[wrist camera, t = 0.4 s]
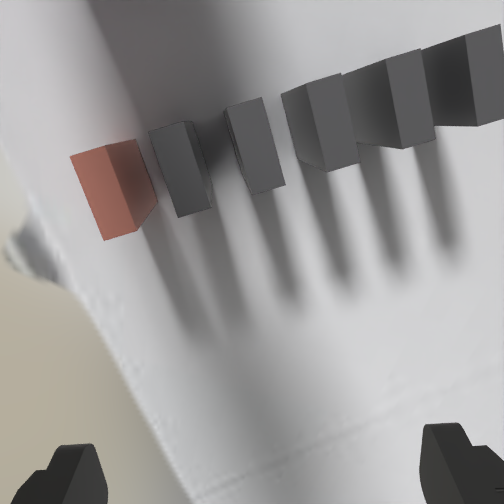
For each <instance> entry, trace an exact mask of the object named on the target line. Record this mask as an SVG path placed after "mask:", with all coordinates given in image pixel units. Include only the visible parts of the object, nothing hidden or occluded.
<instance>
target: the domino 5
mask: <svg viewBox="0 0 504 504" xmlns="http://www.w3.org/2000/svg"><path fill="white" fill-rule="evenodd" d="M342 80H343V84H344V89H345V94H346V98H347V103H348V107H349V112H350V116H351V121H352V125H353V130H354V134H355V139H356V143H362V144H369V145H376V146H383V147H390V148H397V149H405V148H409V147H412V146H415V145H418V144H422V143H425V142H428V141H431V140H435V139H436V137H435V131H434V125H433V119H432V113H431V107H430V101H429V95H428V89H427V83H426V77H425V71H424V66H423V60H422V54H421V48H420V49H417V50H413V51H410V52H407V53H404V54H400V55H397V56H394V57H391V58H387V59H384V60H382V61H379V62H376V63H373V64H371V65H368V66H365V67H363V68H360V69H357V70H355V71H352V72H349V73H346V74H344V75H342Z"/></svg>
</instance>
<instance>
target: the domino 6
mask: <svg viewBox="0 0 504 504" xmlns="http://www.w3.org/2000/svg"><path fill="white" fill-rule="evenodd" d="M421 54H422V60H423V66H424V71H425V77H426V83H427V89H428V95H429V101H430V107H431V113H432V119H433V125H434V126H477V127H478V126H481V125H484V124H488V123H491V122H494V121H497V120H501V119H504V51H503V43H502V34H501V26H500V24H499V25H495V26H492V27H489V28H486V29H482V30H479V31H476V32H473V33H469V34H466V35H463V36H460V37H457V38H454V39H452V40H449V41H446V42H443V43H440V44H437V45H434V46H431V47H428V48H426V49H423V50H421Z"/></svg>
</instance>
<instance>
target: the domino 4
mask: <svg viewBox="0 0 504 504" xmlns="http://www.w3.org/2000/svg"><path fill="white" fill-rule="evenodd" d="M281 97H282V101H283V105H284V109H285V113H286V116H287V120H288V124H289V128H290V132H291V136H292V140H293V143H294V147H295V151H296V155H297V159H299V160H301V161H303V162H306V163H308V164H310V165H312V166H314V167H317V168H319V169H321V170H323V171H325V172H330V171H334V170H337V169H340V168H343V167H347V166H350V165H353V164H356V163H360V157H359V153H358V148H357V144H356V139H355V134H354V130H353V125H352V121H351V116H350V112H349V107H348V103H347V98H346V94H345V89H344V84H343V80H342V75H341V73H339V74H335V75H332V76H329V77H326V78H322V79H319V80H316V81H313V82H309V83H306V84H304V85H301V86H299V87H297V88H294V89H292V90H290V91H287V92H285V93H282V94H281Z"/></svg>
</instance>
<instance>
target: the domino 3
mask: <svg viewBox="0 0 504 504" xmlns="http://www.w3.org/2000/svg"><path fill="white" fill-rule="evenodd" d="M224 114H225V118H226V121H227V124H228V128H229V131H230V135H231V138H232V141H233V145H234V148H235V151H236V155H237V158H238V161H239V165H240V168H241V171H242V175H243V177H244V179H245V181H246V183H247V185H248V187H249V189H250V191H251V193H252V195H255V194H258V193H261V192H265V191H268V190H271V189H275V188H278V187H281V186H284V185H286V184H285V181H284V177H283V173H282V170H281V166H280V162H279V159H278V155H277V151H276V147H275V144H274V140H273V136H272V133H271V129H270V125H269V122H268V118H267V114H266V111H265V107H264V103H263V100H262V97H260V98H257V99H254V100H251V101H247V102H244V103H241V104H238V105H234V106H231V107H228V108H226V109H225V111H224Z"/></svg>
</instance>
